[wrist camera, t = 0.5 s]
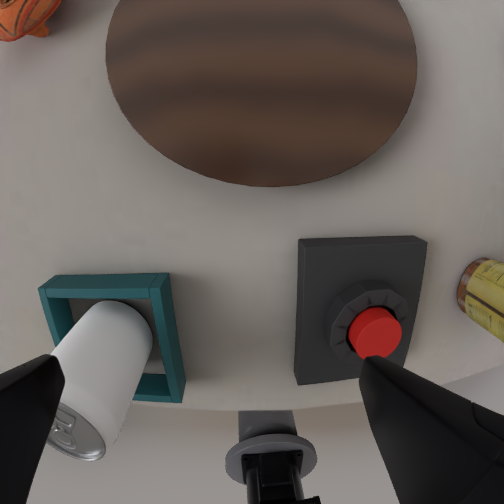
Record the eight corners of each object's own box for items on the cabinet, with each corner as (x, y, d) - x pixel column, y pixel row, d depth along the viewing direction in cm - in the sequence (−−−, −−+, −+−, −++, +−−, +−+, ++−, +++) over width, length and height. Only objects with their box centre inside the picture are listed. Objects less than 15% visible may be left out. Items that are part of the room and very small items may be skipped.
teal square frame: (186, 381, 26) (181, 403, 23) (84, 374, 25) (73, 393, 22) (168, 272, 23) (160, 287, 20) (55, 275, 22) (37, 288, 19)
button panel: (393, 356, 26) (411, 380, 22) (293, 370, 26) (301, 400, 22) (413, 235, 23) (440, 248, 19) (298, 238, 22) (310, 254, 19)
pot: (1, 63, 16) (-39, 33, 9) (34, 2, 16) (6, -33, 9) (63, 49, 16) (23, 5, 10) (97, -15, 16) (73, -60, 9)
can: (81, 342, 24) (20, 432, 13) (93, 285, 23) (13, 370, 11) (143, 372, 25) (106, 476, 14) (163, 317, 24) (120, 428, 12)
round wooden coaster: (407, 186, 22) (423, 189, 19) (119, 193, 21) (106, 197, 18) (380, -40, 15) (391, -52, 13) (131, -44, 15) (123, -58, 12)
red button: (387, 345, 21) (396, 357, 20) (345, 351, 21) (352, 364, 20) (395, 304, 20) (406, 314, 19) (351, 308, 20) (359, 320, 19)
